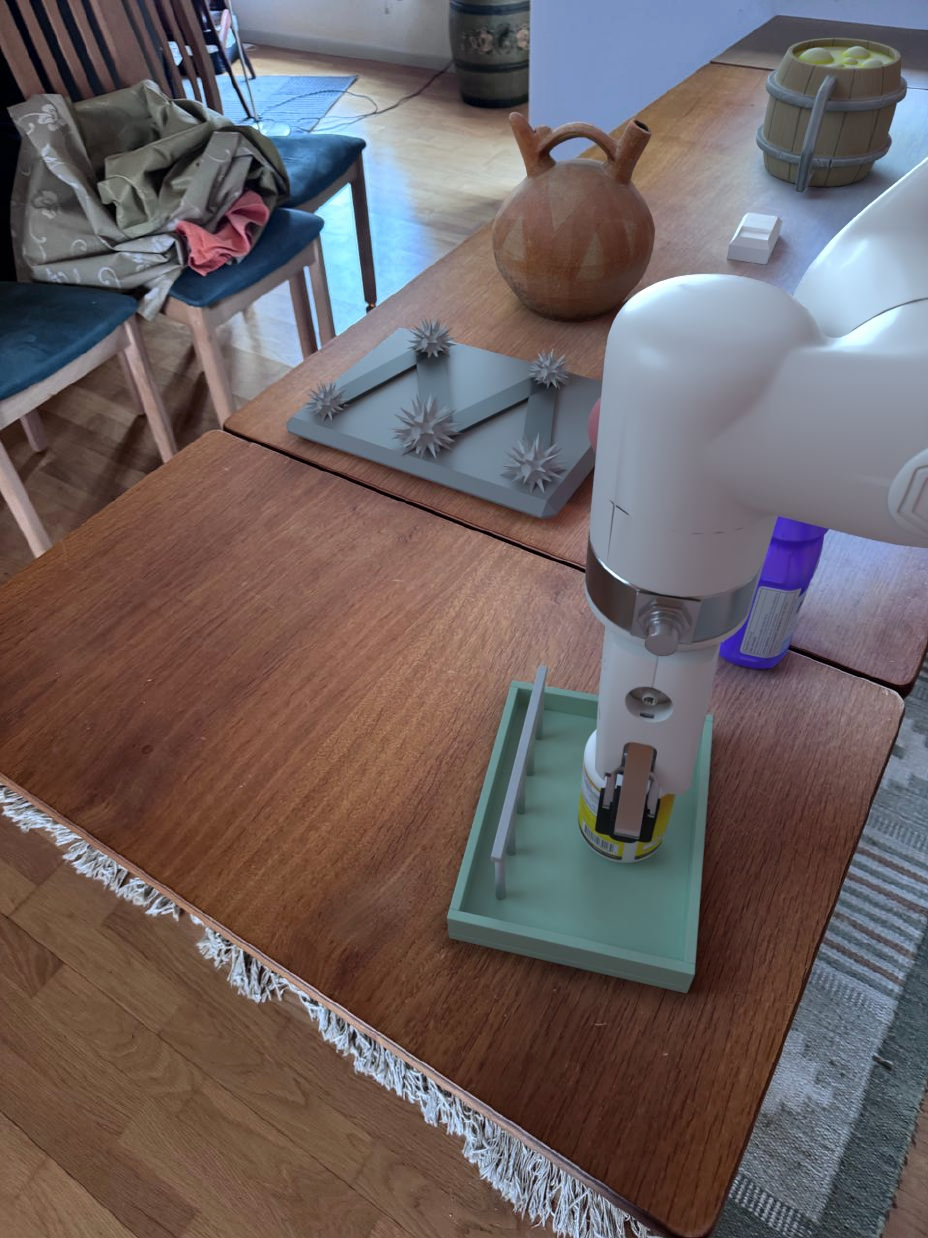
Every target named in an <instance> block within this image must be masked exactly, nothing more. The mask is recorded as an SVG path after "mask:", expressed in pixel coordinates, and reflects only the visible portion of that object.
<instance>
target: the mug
mask: <svg viewBox="0 0 928 1238" xmlns="http://www.w3.org/2000/svg"><path fill="white" fill-rule="evenodd" d="M764 86H765V90H766V92H767V94H769V96H768V100H767V103H766V104H767V105H766V108H765V114H764V120H763V123H762V124H760V125H759V126H758V128H757V130H756V132H755V143H756V145H757V147H758V148H759V149H760V150H761V151H762V156H763V165H764V168H765V170H766V172H768V173H769V175H772V176H774V177H775V178H776V179H779V180H782V181H784V182H788V183H791V184H795V192H798V193H803V192H806V191H807V190H808V187H822V188H823V187H824V188H825V187H826V188H827V187H841V186H846V185H851V184H855V183H857V182H859V181H861V180H863V179H864V178H866V176H867V175H868V174H869V172H870V170H871V169H872V167H873V166H874V164H875V162H876V161H878V160H881V159H882V158H884V157H885V156H886V155H887V153H888V152H889V151H890V148H891V146H892V145H893V139H892V137H891V135H890V133H889V132H890V130H891V127H892V123H893V121H894V116H895V113H896V110H897V106H898V104H899V103H900V102H902V101H903V100H905V98H906V96H907V93H908V82H907V80H906V79H905V78H904V76H902V55H901V53H900V52H899V51H898V50H897V49H895V48H893V47H892V46H890V45H888V44H887V45H886V44H885V43H881V42H877V41H872V40H869V39H868V40H867V39H860V38H848V37H825V38H813V39H808V40H802V41H800V42H796V43H795V44H792V45H790V46H789V48H787V50H786V53H785V54H784V56H783V58H782V60H781V63H780V65H779V66H778V68H775V69H774V70H773V71H771V72H770V73H769V74H768V76H767V80H766V82H765V85H764Z"/></svg>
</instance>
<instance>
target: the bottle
mask: <svg viewBox="0 0 928 1238" xmlns="http://www.w3.org/2000/svg"><path fill="white" fill-rule="evenodd" d="M829 530H830V529H827V528H823V527H819V526H815V525H811V524H807V523H803V522H799V521H795V520H791V519H787V518H783V517H779V516H778V518H777V521H776V525H775V528H774V531H773V535H772V538H771V541H770V545H769V548H768V551H767V554H766V558H765V562H764V565H763V569H762V572H761V576H760V579H759V582H758V586H757V589H756V593H755V596H754V599H753V603H752V606H751V610H750V613H749V615H748V618H747V620H746V622H745V623H744V624H743V626H742V627H741V628H740V629H739V630H738V631H737V632H736V633H735V634H734V635H733V636H731V637H730V638H728V639H727V640H725V641H723V642H721V645H720V651H719V656H720V658H723V659H724V660H726V661H727V662H729V663H732V664H734V665H736V666H739V667H740V666H741V667H747V668H749V669H758V670H764V669H772V668H773V667H775V666H777V664H778V663H780V662H781V661H782V660H783V658H784V657H785V656H786V654H787V652H788V650H789V648H790V646H791V643H792V639H793V635H794V630H795V628H796V625H797V621H798V618H799V616H800V613H801V610H802V607H803V604H804V601H805V599H806V595H807V592H808V590H809V588H810V585H811V582H812V580H813V577H814V576H815V574H816V572H817V570H818V567H819V563H820V560H821V556H822V553H823V548H824V540H825V535H826V534H827V533H828V532H829Z"/></svg>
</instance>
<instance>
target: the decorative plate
mask: <svg viewBox="0 0 928 1238" xmlns="http://www.w3.org/2000/svg"><path fill="white" fill-rule="evenodd" d="M423 318H424V320H423ZM423 318H420V320H421V321H419V324H420V328H421V329H420V328H419V327H418V326H416V325H413V327H414V328H412V329H408V328H404V327H402V326H401V327H400V326H399V327H398V328H397V329H396V330H394V331H393V332H392V333H391V334H390V335H389V336H387V337H386V338H385V339H384V340H383V341H382V342H380V343H379V344H378V345H377V346H376V347H374V348H373V349H371V350H370V351H369V352H368V353H367V354H365V356H363V357H362V358H361V359H360V360H358V361H357V362H356V363H355V364H354V365H353V366H351V367H350V368H349V369H348V370H346V371H345V372H344V373H342V374H341V375H340V376H339V377H338V378H337V379H335V380H334V381H332V382H331V380H329V382H328V384H327V387H326V384H324V383H323V382H322V380H319V382H320V385H319V384H318V382H316V383H315V384H316V387H317V390H318V392H316V391H314V390H313V389H311V388H309V392H310V393H308V392H306V395H308V397H310V398H311V400H308V401H304V406H302V407H301V409H299V410H298V411H297V412H296V413H294V414H293V415H292V416H290V418H289V419H288V420H287V421H286V422H285V425H286V432H287V433H288V434H291V435H294V436H297V437H300V438H303V439H305V440H309V441H312V442H314V443H317V444H321V445H323V446H326V447H329V448H331V449H335V450H338V451H341V452H344V453H346V454H350V455H352V456H355V457H358V458H361V459H365V460H367V461H370V462H373V463H376V464H379V465H382V466H385V467H387V468H391V469H394V470H397V471H399V472H402V473H406V474H407V475H411V476H414V477H417V478H419V479H422V480H426V481H429V482H432V483H436V484H438V485H441V486H444V487H446V488H449V489H452V490H455V491H458V492H461V493H464V494H467V495H469V496H472V497H476V498H479V499H481V500H485V501H488V502H490V503H493V504H496V505H498V506H499V505H500V506H502V507H506V508H508V509H511V510H513V511H517V512H520V513H522V514H525V515H528V516H531V517H535V518H538V519H541V520H544V521H548V520H550V519H552V518H554V517H556V516H557V515H559V513H560V512H561V511H562V509H563V508H564V506H565V505H566V504H567V502H568V501H569V500H570V499H571V497H572V496H573V495H574V493H575V492H576V491H577V490H578V488H579V487H580V486H581V485H582V483H583V482H584V481H585V479H586V478H587V477H588V476H589V475H590V474H591V472H592V470H593V469H595V461H596V455H595V452H594V450H593V448H592V446H591V443H590V440H589V435H588V422H589V417H590V414H591V411H592V409H593V407H594V405H595V404H596V402H597V401H598V400H599V398H600V397H601V393H602V382H603V380H600V379H599V380H598V379H595V378H592V377H588V376H583V375H580V374H576V373H573V372H569V370H571V369H572V366H564V365H565V363H566V362H567V361H568V360H569V359H570V358H569V357H568V358H566V359H565V360H563V359H564V358H565V354H563V355H562V356H561V357H560V358H558V359H557V353H558V350H555V353H554V348H552V349H551V351H550V352H549V354H547V353H546V351H545V349H544V348H542V350H541V354H540V353H539V352H537V354H538V357H539V358H538V357H536V356H535V355H534V358H535V359H532V358H530V360H525V359H520V358H516V357H513V356H510V355H505V354H502V353H498V352H494V351H490V350H486V349H483V348H480V347H475V346H472V345H468V344H464V343H461V342H457V341H453V340H455V339H456V338H457V336H451V334H450V333H449V332H450V331H451V330H452V329H453V328H454V326H453V327H450V325H448V322H446V323H445V324H444V325H443V326H442V327H441V319H440V317H437V320H436V317H434V319H433V321H432V320H431V319H429V323H428V320H427V318H426V316H424V317H423ZM446 326H447V327H446ZM449 327H450V328H449ZM448 328H449V329H448ZM553 353H554V355H553ZM320 386H321V387H320Z"/></svg>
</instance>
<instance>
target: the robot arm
mask: <svg viewBox="0 0 928 1238" xmlns="http://www.w3.org/2000/svg"><path fill="white" fill-rule="evenodd" d="M604 353H605V354H604V361H603V371H602V372H603V373H602V381H603V382H602V393H601V405H600V416H599V427H598V439H597V450H596V461H595V466H594V474H593V483H592V484H593V486H592V494H591V506H590V516H589V527H588V538H587V549H586V560H585V569H584V571H585V572H584V581H583V582H584V583H583V586H584V587H583V588H584V589H583V590H584V595H585V596H584V597H585V599H586V602H587V605H588V607H589V608H590V611H591V613H592V614H593V615H594V616H595V617H596V619H597V620H598V621H599V623H601V624H602V625H603V626H604V634H603V645H602V656H601V663H600V664H601V665H600V675H599V685H598V686H599V688H598V695H599V698H598V714H597V730H596V752H595V770H596V772H597V774H598V775H599V776H600V778H601V779H602V780H604V781H605V777H607V781H606V787H605V788H601V790H600V797H599V803H598V810H597V817H596V824H595V831H596V832H597V833H600V834H604V835H609V836H610V838H612V839H613V840H615V841H619V842H624V843H635V842H636V841H638V842H643V843H649V842H651V840H652V836H653V832H654V828H655V824H656V820H657V816H658V812H659V807H660V799H658V795H659V790H660V786H661V788H662V790H663V791H664V793H667V794H674V795H682V794H684V793H685V792H687V791H688V790H689V789H690V787H691V782H692V777H693V772H694V767H695V763H696V758H697V754H698V749H699V745H700V741H701V737H702V732H703V728H704V724H705V719H706V715H707V714H708V710H709V706H710V702H711V696H712V692H713V689H714V684H715V683H714V682H715V678H716V674H717V673H716V672H717V668H718V662H719V656H720V655H719V651H720V645H721V642H723V641H725V640H727V639H728V638H730V637H731V636H733V635H734V634H735V633H736V632H737V631H738V630H739V629H740V628H741V627H742V626H743V624H744V623H745V622H746V620H747V618H748V615H749V613H750V610H751V606H752V603H753V599H754V596H755V593H756V589H757V586H758V582H759V579H760V576H761V572H762V569H763V565H764V562H765V558H766V554H767V551H768V548H769V545H770V541H771V538H772V535H773V531H774V528H775V525H776V521H777V518H778V516H779V517H783V518H787V519H791V520H795V521H799V522H803V523H807V524H811V525H815V526H819V527H823V528H827V529H829V530H831V531H835V532H839V533H843V534H846V535H851V536H854V537H858V538H863V539H866V540H871V541H876V542H880V543H885V544H890V545H895V546H903V547H909V548H920V549H928V156H927V157H926V158H924V159H923V160H922V161H921V162H919V163H918V164H917V165H916V166H915V167H914V168H912V169H911V170H910V171H909V172H907V173H906V174H905V175H903V176H902V177H901V178H900V179H898V180H897V181H896V182H895V183H894V184H893V185H891V186H890V187H889V188H887V189H886V190H885V191H883V193H882V194H880V195H879V196H878V197H876V198H875V199H874V200H873V201H872V202H870V203H869V204H868V205H867V206H866V207H864V208H863V209H862V211H860V212H859V213H858V214H857V215H856V216H854V218H853V219H852V220H850V221H849V222H848V223H847V224H846V225H845V226H844V227H843V228H842V229H840V231H838V232H837V234H835V236H834V237H833V238H831V240H830V241H829V242H828V243H827V244H826V245H825V247H823V249H822V250H821V251H820V253H819V254H817V256H816V257H815V259H814V260H813V261H812V262H811V263H810V265H809V266H808V267H807V269H806V271H805V273H804V274H803V275H802V277H801V279H800V281H799V282H798V284H797V286H796V287H795V290H794V292H793V295H792V294H790V293H788V292H787V291H786V290H783V289H781V288H779V287H777V286H775V285H773V284H771V283H767V282H765V281H761V280H758V279H754V278H750V277H746V276H739V275H735V274H725V273H723V274H722V273H696V274H695V273H694V274H685V275H680V276H675V277H671V278H667V279H663V280H660V281H657V282H655V283H653V284H651V285H649V286H647V287H645V288H644V289H642V290H640V291H639V292H636V293H635V294H634V295H633V296H632V297H631V298H630V299H628V300H627V302H625V304H624V305H623V306H622V308H620V310H619V311H618V312H617V314H616V316H615V317H614V320H613V321H612V324H611V327H610V329H609V332H608V335H607V339H606V347H605V352H604ZM625 753H627V754H625ZM652 758H653V759H652ZM618 774H619V775H623V779H622V786H620V785H617V786H616V781H617V775H618ZM649 780H650V782H649V787H648V781H649ZM615 787H616V788H615ZM647 787H648V793H647Z"/></svg>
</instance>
